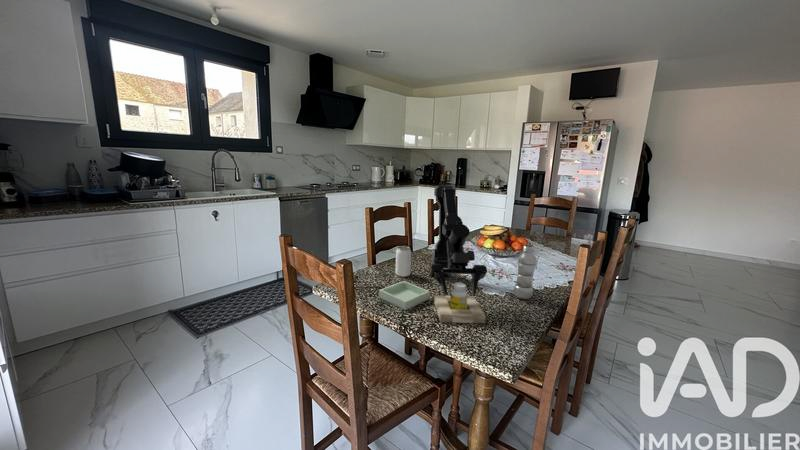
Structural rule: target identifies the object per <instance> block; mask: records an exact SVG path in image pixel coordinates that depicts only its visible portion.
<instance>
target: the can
mask: <svg viewBox="0 0 800 450" xmlns="http://www.w3.org/2000/svg"><path fill="white" fill-rule="evenodd" d="M411 263H412V250H411V247H409V246H407V245H405V246H404V245H402V246H401V245H400V246H397V247H396V251H395V274H396V276H398V277H403V278H404V277H406V278H407V277H409V276H410V275H411V266H412V265H411Z"/></svg>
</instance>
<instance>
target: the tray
mask: <svg viewBox="0 0 800 450" xmlns="http://www.w3.org/2000/svg"><path fill="white" fill-rule="evenodd" d="M430 295H431V291H430V290H427V289H425V288H423V287H420V286H418V285H415V284H413V283H411V282H408V281H406V280H403V281H400V282H397V283H394V284H391V285H389V286H386V287H383V288H381V289H379V290H378V298H379V299H381V300H383V301H384V302H387V303H388V304H390V305H393V306H394V307H397V308H398V309H401V310H402V311H403V310H404V311H407V310H409V309H411V308H413V307H416V306H417V305H420V304H422V303H424V302H426V301H429V300H430V297H431V296H430Z"/></svg>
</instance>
